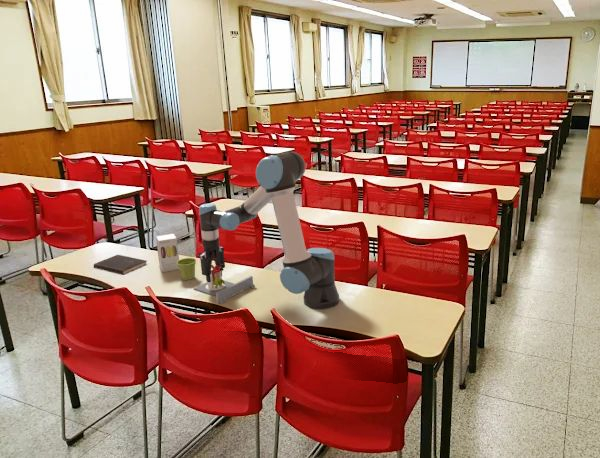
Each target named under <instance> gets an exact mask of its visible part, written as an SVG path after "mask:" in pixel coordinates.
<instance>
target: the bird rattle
mask: <svg viewBox="0 0 600 458" xmlns="http://www.w3.org/2000/svg"><path fill="white" fill-rule="evenodd" d="M220 268H221V266H217V265H216V264H215V265H213V264H212V265H211V275H212V279H213V285H215V288H216V289H217V288H218V285H222V283H223V284H225V283H224V281H225V280H224V279H223V278H222V279H220V280H219V276H218V273H217V272H220V271H219V270H220Z"/></svg>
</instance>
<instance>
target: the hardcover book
mask: <svg viewBox="0 0 600 458" xmlns="http://www.w3.org/2000/svg"><path fill="white" fill-rule="evenodd" d="M145 265H147V260H144V259H139V258H135V257H131V256H126V255H122V254H116V255H114V256H113V255H112V256H111V257H108V258H105V259H103V260H100V261H97V262H95V263H94V264H93V268H95V267H97V268H96V269H99V268H101V269H100V270H103V269H104V271H107V270H108V271H109V272H113V273H117V274H121V275H124V274H127V273H130V272H131V271H134V270H136V269H138V268H141V267H143V266H145ZM140 266H141V267H140ZM108 271H107V272H108Z"/></svg>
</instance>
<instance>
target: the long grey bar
mask: <svg viewBox="0 0 600 458" xmlns="http://www.w3.org/2000/svg"><path fill="white" fill-rule="evenodd" d="M254 287H255V284H254V278H253V275H249V276H247V277H245V278H243V279H241V280H239V281H237V282H234V284H233V285H231V286H229V287H227V288H225V289H223V290H221V291H219V292H217V293H216V296H215V297H216V299H215V302H216V303H217V304H219V303H220V304H223V303H226V300H227V299H230V298H232V297H233V296H235V295H238V294H239V293H241V292H243V291H245V290H247V289H248V288H249V289H250V288H254Z"/></svg>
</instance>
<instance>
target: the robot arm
mask: <svg viewBox="0 0 600 458" xmlns="http://www.w3.org/2000/svg"><path fill="white" fill-rule="evenodd" d="M305 172H306V162H305V160H304V158H303V156H302V155H301V154H299V153H297V152H295V151H285V152H281V153H275V154H271V155H268V156H266V157H264V158H262V159H261V160H260V161H259V162H258V164H257V166H256V168H255V178H256V181H257V183H258V185H260V186H259V187H258V188H257V189H256V190H255V191H253V193H252V194H250V196H249V197H247V199H245V201H244V202H243V203H241V204H240V205H239V206H236V207H234V208H230V209H227V210H219V209H217V206H216V204H215V203H204V204H201V205H200V206H199V207H198V211H199V212H198V215H199V225H200V231H201V239H202V240H201V241H202V248H203V253H202V254H199V256H198V258H199V260H200V267H201V275H202V276H205V279H206V282H208V288H212V289H213V279H212V275H211V270H212V267H211V265H213V264H212V262H213V261H214V264H215V266H216V265H217V266H221V268H220V270H219V271H220V272H217V273H218V276H219V280H220V279H222V280H223V278H222V277H223V271H224V268H225V267H226V264H225V247H223V246H220V238H219V236H220V235H219V234H220V233H219V229H221V230H225V231H226V230H227V231H235V230H236V229H237V228H238V227H239V225H240V224H243V223H246V222H251V221H252V220H254V219H256V217H258V213H259V212H260V211H261V210H262V209H263V208H265V206H267V205H268V204H269V203H270V202H271V201H272V205H273V211H274V214H275V218H276V223H277V227H278V232H279V236H280V240H281V243H282V248H283V253H284V257H283V259H282V260H281V261H282V266H283V268H282V270H281V272H280V274H279V280H280V282H281V284H282V287H284V289H285V290H287V291H288V292H289V293H291V294H295V295H298V294H299V295H300V294H302V293H304V294H303V304H304V305H305V306H307V307H309V308H312V309H323V310H324V309H329V308H333V307H335V306H337V305H338V304H339V302H340V294H339V292H338V289H337V286H336V282H335V281H336V279H335V278H336V277H335V275H336V274H335V253H334V252H333V250H331V249H329V248H324V247H311V248H308V249H307V247H306V245H305V239H304V235H303V230H302V226H301V225H302V224H301V222H300V217H299V213H298V209H297V205H296V200H295V199H296V198H295V195H294V191H295V189H296V188H297V186H296V182H297V181H299V180H300V179H301V178H302V177H303V175H304V174H305Z"/></svg>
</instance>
